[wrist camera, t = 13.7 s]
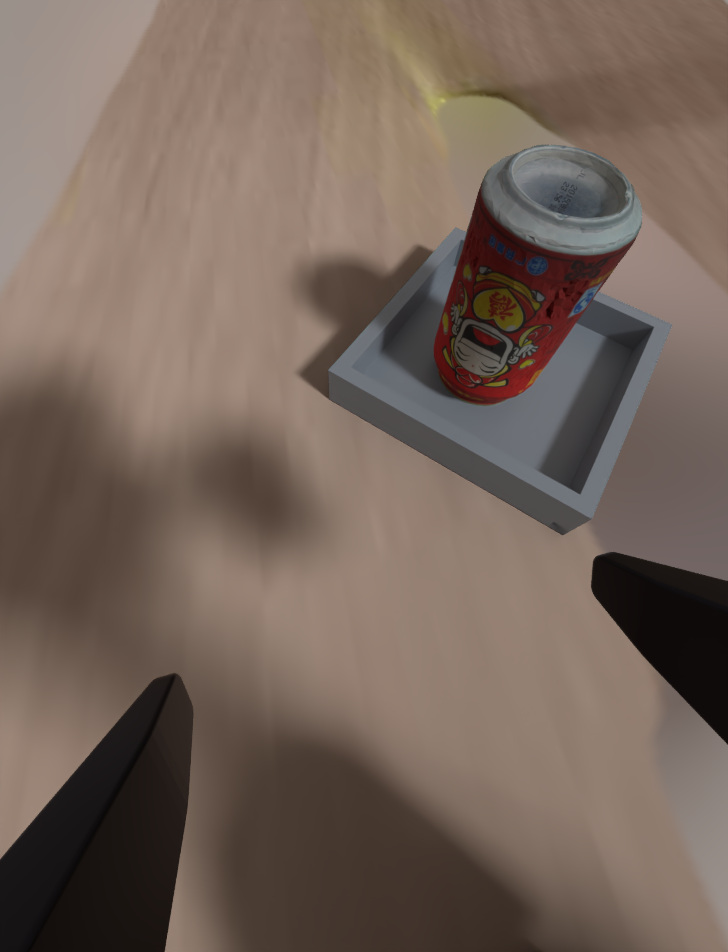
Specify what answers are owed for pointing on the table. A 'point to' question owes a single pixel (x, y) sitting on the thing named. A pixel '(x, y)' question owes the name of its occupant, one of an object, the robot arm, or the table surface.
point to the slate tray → (517, 419)
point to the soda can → (531, 267)
